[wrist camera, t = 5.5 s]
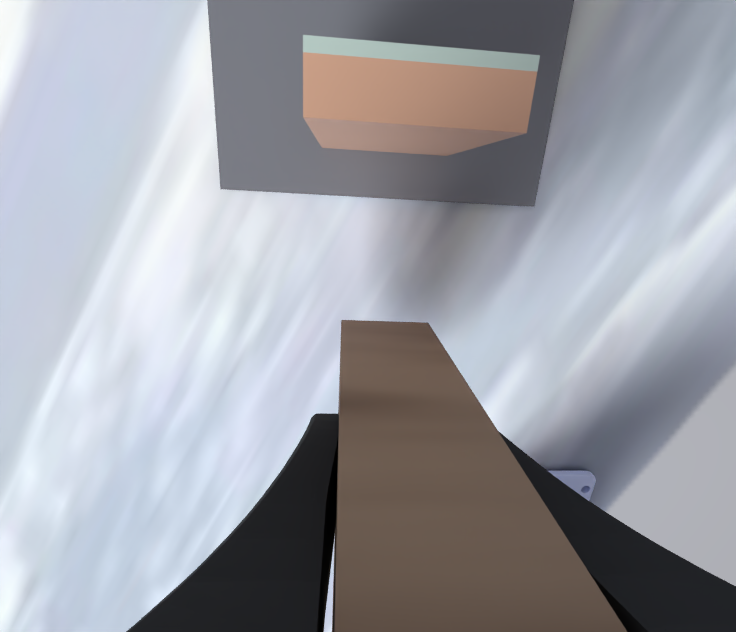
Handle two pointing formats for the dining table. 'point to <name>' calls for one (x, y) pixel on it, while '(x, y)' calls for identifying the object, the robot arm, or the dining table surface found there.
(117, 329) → the dining table surface
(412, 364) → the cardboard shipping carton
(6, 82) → the dining table surface
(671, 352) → the dining table surface
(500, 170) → the mat
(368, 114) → the tile
